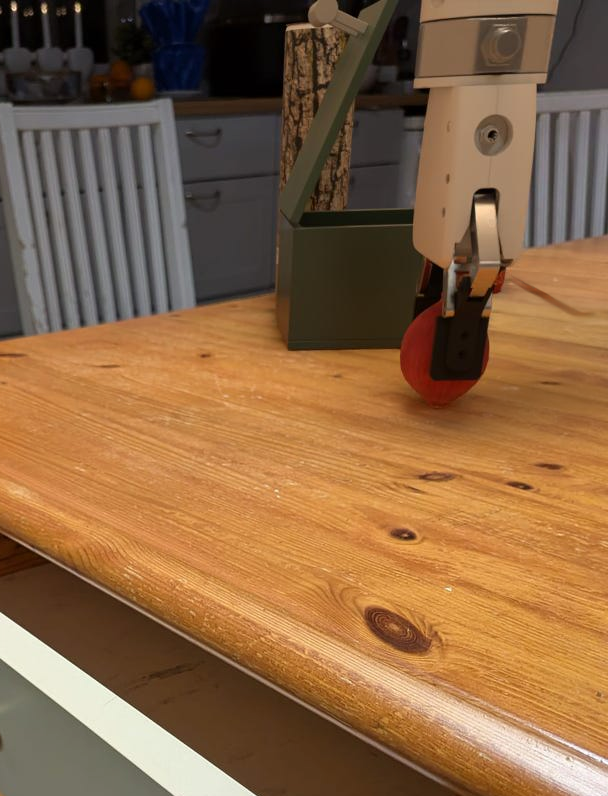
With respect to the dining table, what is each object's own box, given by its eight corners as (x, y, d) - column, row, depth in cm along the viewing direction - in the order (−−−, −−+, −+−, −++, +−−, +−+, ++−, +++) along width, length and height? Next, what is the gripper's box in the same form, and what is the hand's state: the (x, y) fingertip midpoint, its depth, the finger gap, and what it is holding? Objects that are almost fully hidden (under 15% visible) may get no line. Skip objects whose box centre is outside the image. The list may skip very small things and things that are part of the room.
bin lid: (369, 14, 82) (314, -13, 81) (398, 0, 70) (335, -31, 70) (284, 208, 90) (233, 185, 89) (298, 224, 78) (240, 198, 77)
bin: (435, 315, 94) (449, 206, 89) (471, 346, 82) (488, 223, 77) (275, 319, 95) (280, 211, 90) (287, 350, 83) (293, 228, 78)
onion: (396, 394, 70) (409, 278, 66) (480, 398, 68) (497, 280, 64) (392, 417, 65) (405, 293, 61) (481, 421, 63) (500, 295, 60)
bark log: (333, 311, 97) (354, 19, 85) (267, 309, 99) (278, 23, 87) (344, 299, 103) (365, 23, 90) (282, 297, 105) (294, 27, 92)
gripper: (601, 49, 49) (538, 400, 58) (505, 61, 64) (467, 338, 73) (451, 55, 49) (411, 402, 58) (390, 65, 64) (366, 340, 73)
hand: (442, 364), depth 65 cm, fingers closed on onion, 6 cm apart
